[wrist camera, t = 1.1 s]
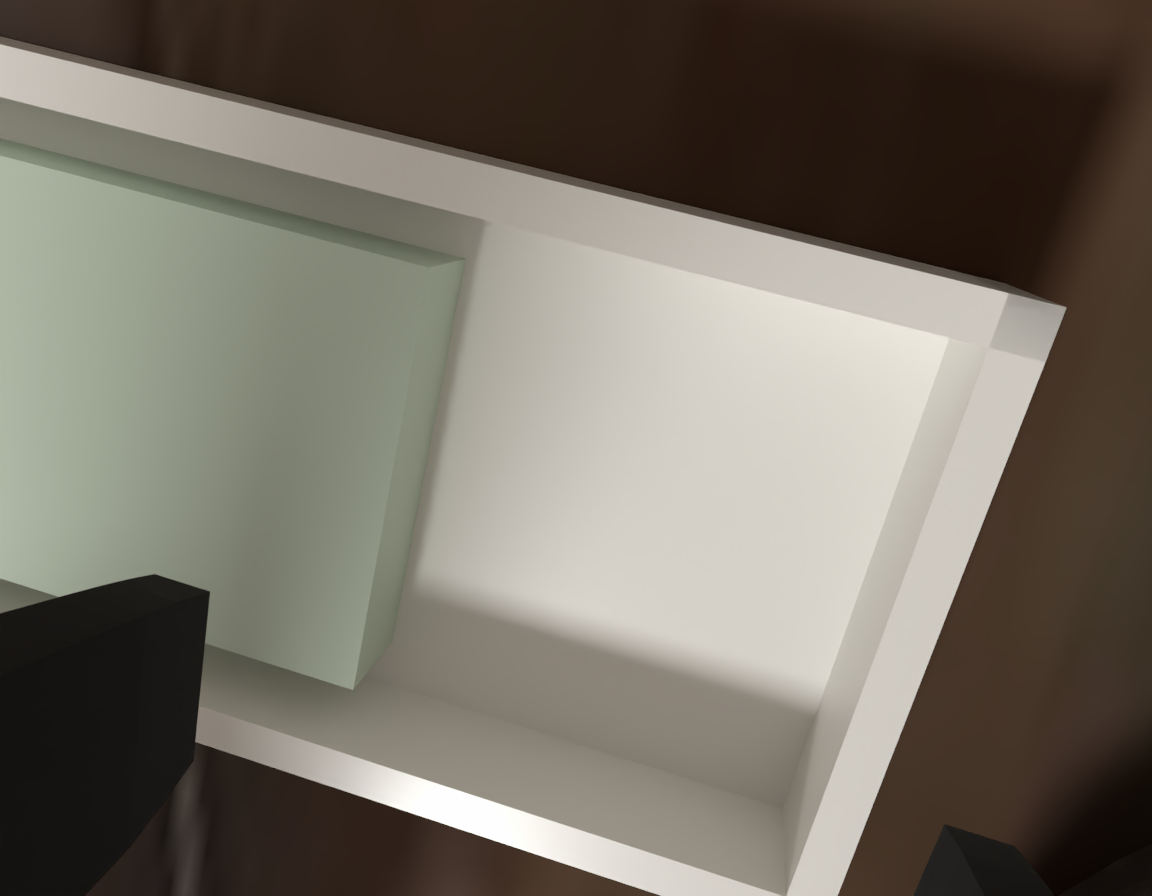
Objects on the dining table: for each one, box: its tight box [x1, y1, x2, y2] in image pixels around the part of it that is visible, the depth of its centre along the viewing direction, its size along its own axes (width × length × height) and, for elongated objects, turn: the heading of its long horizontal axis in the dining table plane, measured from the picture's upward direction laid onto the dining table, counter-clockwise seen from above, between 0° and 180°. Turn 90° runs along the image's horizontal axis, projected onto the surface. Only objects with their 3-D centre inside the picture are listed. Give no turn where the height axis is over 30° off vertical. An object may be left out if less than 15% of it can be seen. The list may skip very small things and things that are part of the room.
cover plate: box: [0, 138, 466, 690], centre depth 18 cm, size 8×11×2 cm
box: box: [0, 36, 1067, 896], centre depth 18 cm, size 12×21×4 cm, turn 77°
